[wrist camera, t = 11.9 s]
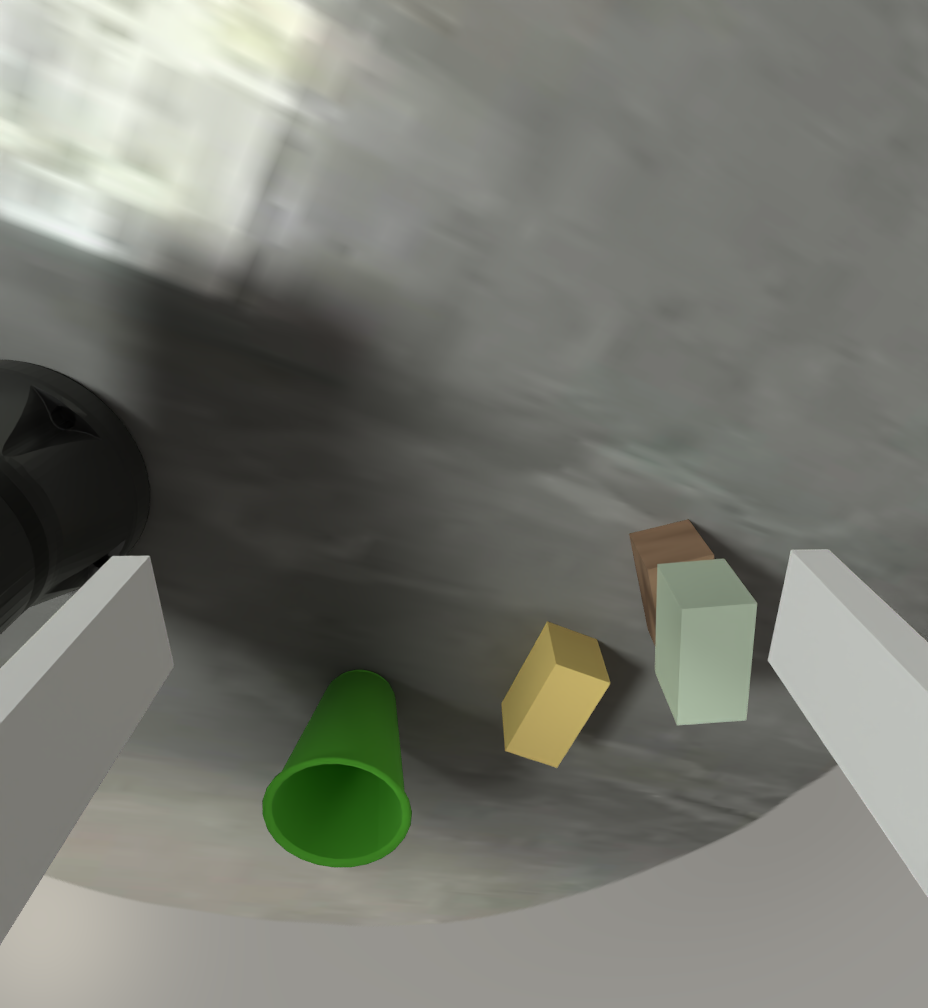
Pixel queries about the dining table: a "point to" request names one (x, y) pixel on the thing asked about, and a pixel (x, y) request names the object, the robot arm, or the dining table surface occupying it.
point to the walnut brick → (663, 558)
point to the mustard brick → (553, 695)
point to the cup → (343, 779)
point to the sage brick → (704, 641)
